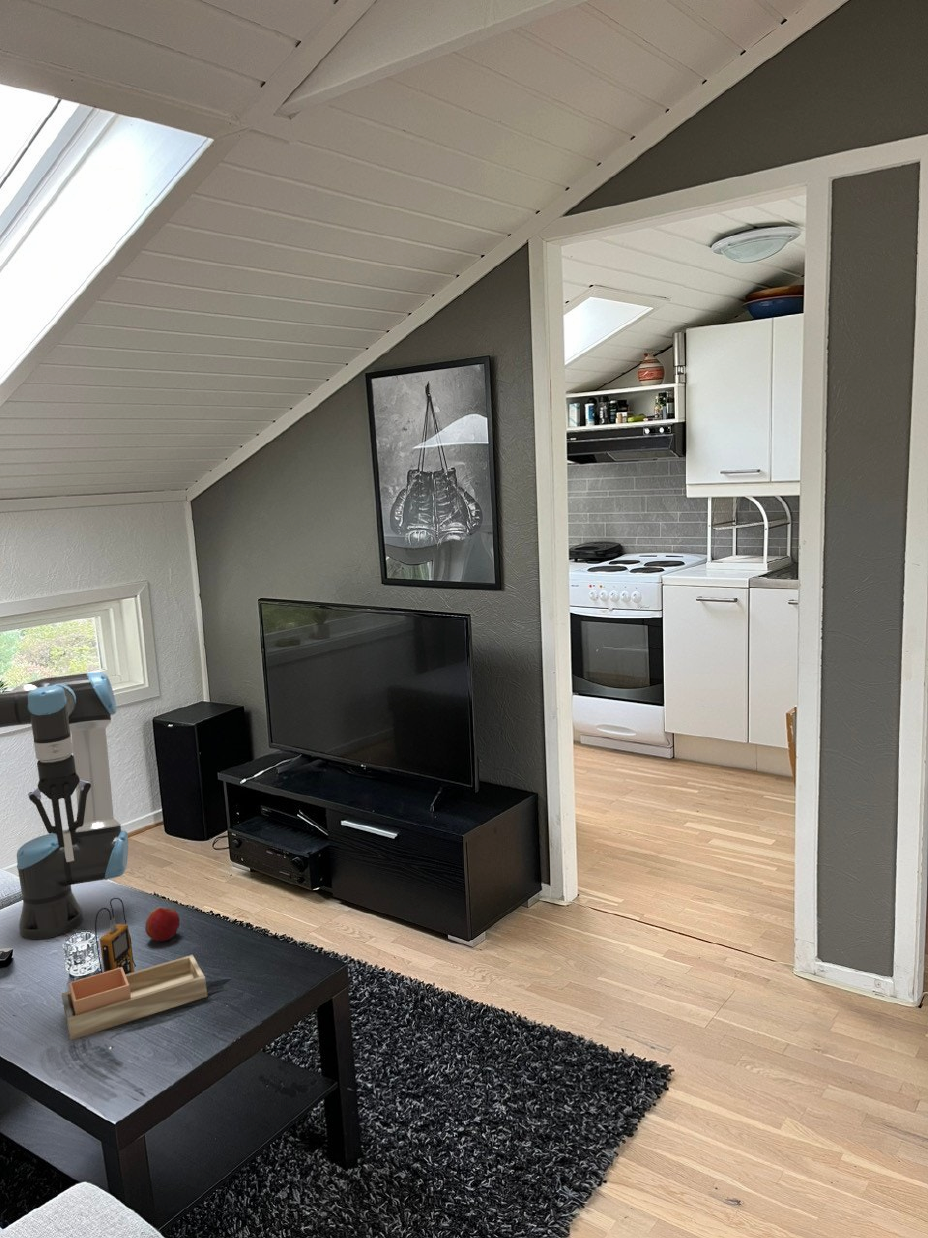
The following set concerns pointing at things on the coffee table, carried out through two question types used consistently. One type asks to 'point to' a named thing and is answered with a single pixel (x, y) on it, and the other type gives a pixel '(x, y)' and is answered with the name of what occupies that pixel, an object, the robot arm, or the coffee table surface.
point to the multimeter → (116, 946)
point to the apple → (162, 924)
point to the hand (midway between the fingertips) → (69, 859)
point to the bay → (142, 996)
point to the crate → (99, 990)
